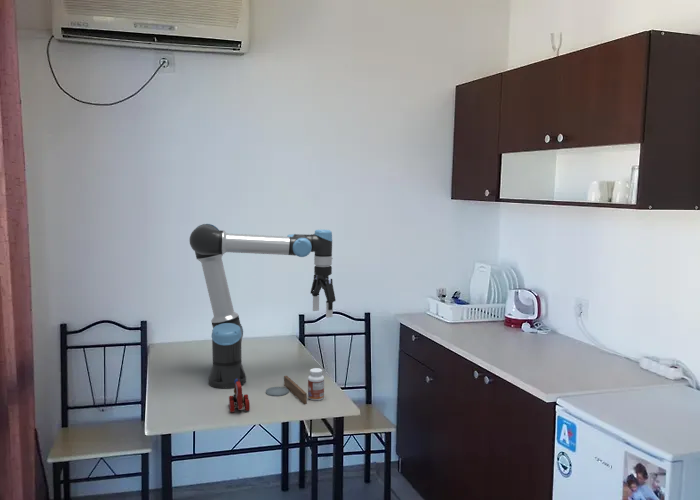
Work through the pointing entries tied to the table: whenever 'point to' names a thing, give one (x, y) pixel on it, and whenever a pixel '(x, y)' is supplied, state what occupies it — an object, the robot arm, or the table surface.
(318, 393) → the pill bottle
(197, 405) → the table surface
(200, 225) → the robot arm
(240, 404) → the toy fire truck
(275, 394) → the slate pad
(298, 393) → the divider rail
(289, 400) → the table surface
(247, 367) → the table surface
